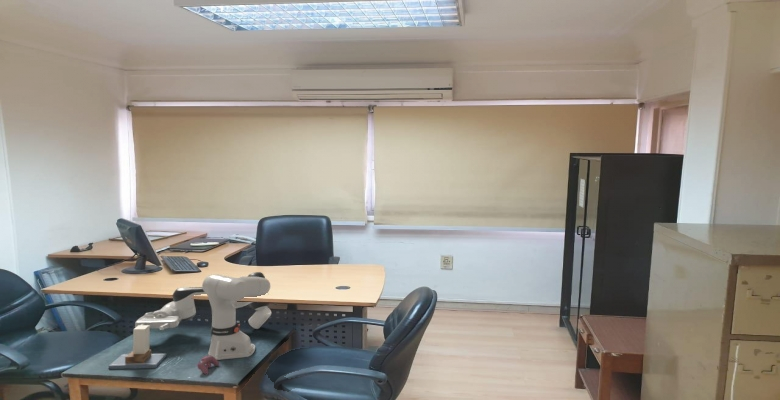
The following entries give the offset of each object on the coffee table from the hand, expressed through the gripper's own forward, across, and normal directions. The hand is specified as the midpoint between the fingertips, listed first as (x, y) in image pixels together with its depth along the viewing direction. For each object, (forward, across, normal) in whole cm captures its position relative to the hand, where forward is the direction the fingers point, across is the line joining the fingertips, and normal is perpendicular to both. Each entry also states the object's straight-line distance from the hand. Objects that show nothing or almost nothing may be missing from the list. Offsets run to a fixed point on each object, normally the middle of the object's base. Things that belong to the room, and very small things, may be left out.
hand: (151, 329), depth 204 cm
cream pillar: (+11, 0, -6) cm, 13 cm away
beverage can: (-30, -44, -12) cm, 54 cm away
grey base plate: (+13, +1, -11) cm, 17 cm away
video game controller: (+21, -33, -12) cm, 41 cm away
